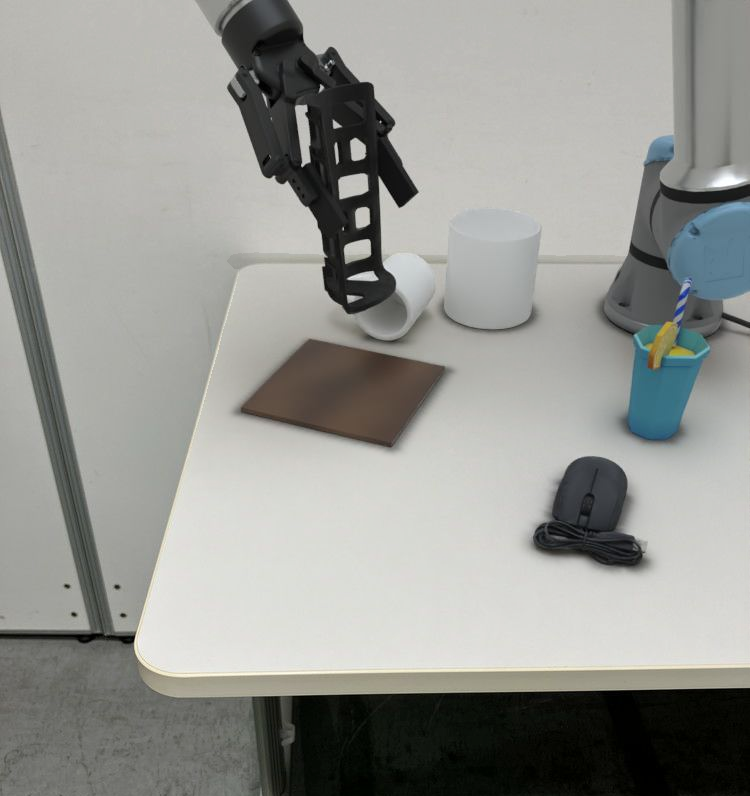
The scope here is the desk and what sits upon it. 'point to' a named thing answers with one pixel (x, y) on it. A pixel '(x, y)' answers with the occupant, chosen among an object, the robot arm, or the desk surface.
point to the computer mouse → (591, 512)
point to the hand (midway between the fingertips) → (375, 215)
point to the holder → (330, 173)
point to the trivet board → (346, 391)
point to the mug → (398, 297)
